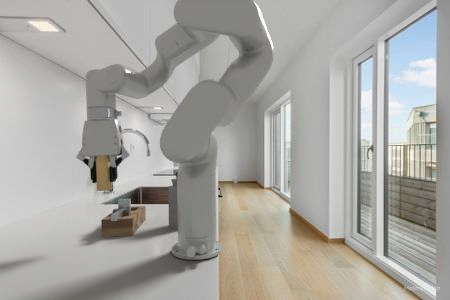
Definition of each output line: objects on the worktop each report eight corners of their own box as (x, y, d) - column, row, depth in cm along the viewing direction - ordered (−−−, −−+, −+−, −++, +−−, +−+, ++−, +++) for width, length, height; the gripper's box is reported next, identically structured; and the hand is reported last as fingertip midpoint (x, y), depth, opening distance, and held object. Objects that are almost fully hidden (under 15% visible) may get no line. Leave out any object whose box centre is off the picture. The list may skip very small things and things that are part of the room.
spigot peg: (109, 190, 75) (108, 153, 76) (94, 191, 75) (93, 154, 75) (114, 188, 79) (113, 153, 79) (99, 189, 79) (98, 154, 79)
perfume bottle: (197, 224, 95) (196, 171, 95) (184, 229, 89) (183, 173, 89) (182, 222, 99) (181, 171, 99) (168, 226, 93) (168, 172, 93)
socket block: (132, 235, 84) (132, 212, 84) (101, 236, 83) (101, 213, 83) (145, 219, 104) (145, 200, 104) (120, 220, 103) (120, 201, 103)
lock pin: (120, 220, 81) (120, 205, 81) (107, 221, 81) (107, 205, 81) (130, 211, 93) (130, 198, 93) (119, 212, 93) (119, 199, 93)
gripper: (135, 116, 82) (138, 179, 82) (76, 118, 80) (78, 182, 80) (129, 113, 74) (132, 181, 74) (63, 114, 73) (66, 185, 73)
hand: (104, 181), depth 77 cm, fingers closed on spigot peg, 4 cm apart
